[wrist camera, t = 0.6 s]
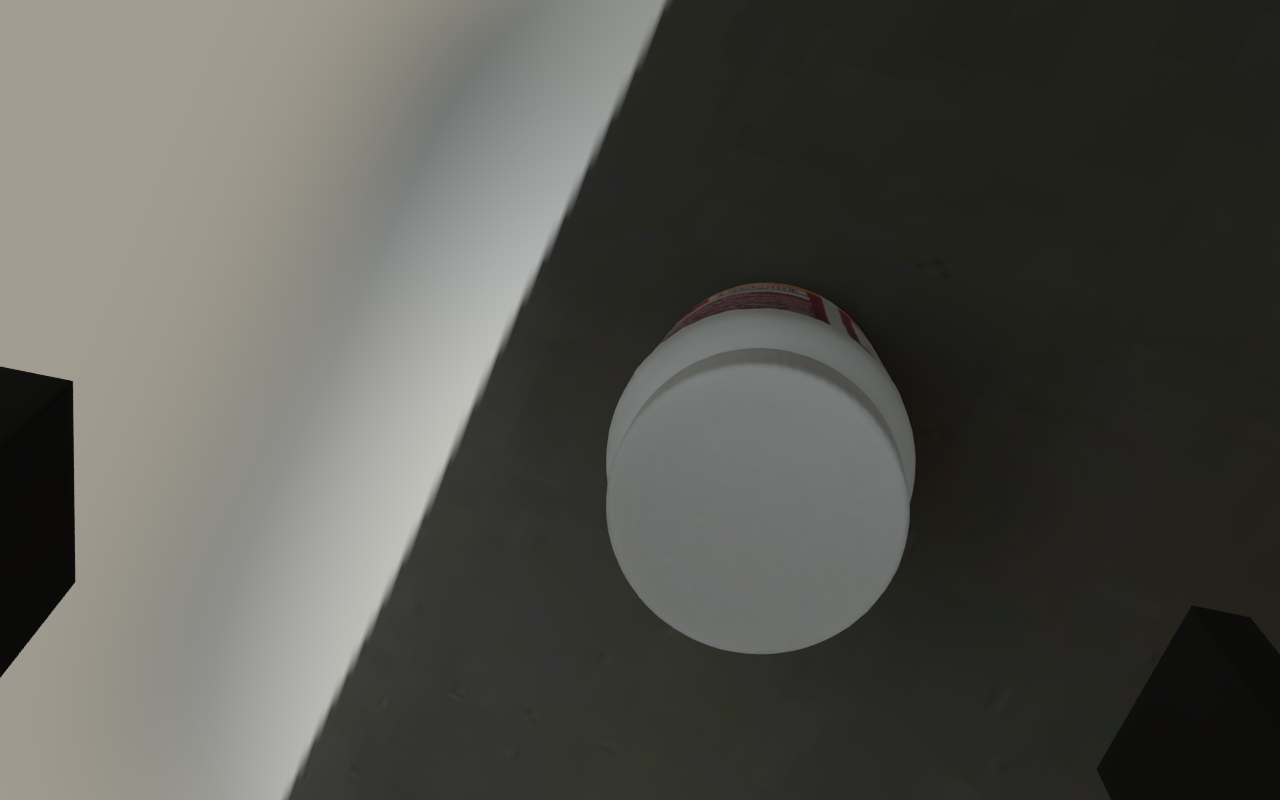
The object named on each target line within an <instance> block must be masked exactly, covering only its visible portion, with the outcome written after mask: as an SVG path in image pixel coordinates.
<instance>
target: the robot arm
mask: <svg viewBox="0 0 1280 800" xmlns="http://www.w3.org/2000/svg"><path fill="white" fill-rule="evenodd" d="M73 434H74V433H73V381H70V380H65V379H60V378H55V377H50V376H45V375H40V374H35V373H30V372H25V371H20V370H15V369H10V368H5V367H0V677H1V676H2V675H3V673H4V672H5V671H6V669H8V667H9V666H10V665H11V663H12V662H13V661H14V660H15V658H16V657H17V656H18V654H19V653H20V652H21V651H22V649H23V648H24V647H25V646H26V644H27V643H28V642H29V640H30V639H31V638H32V636H33V635H34V634H35V633H36V631H37V630H38V629H39V628H40V626H41V625H42V623H44V621H45V620H46V619H47V617H48V616H49V615H50V614H51V612H52V611H53V610H54V608H55V607H56V606H57V605H58V603H59V602H60V601H61V600H62V598H63V597H64V596H65V594H66V593H67V592H68V591H69V589H70V588H71V587H72V585H73V584H74V583H75V519H74V518H75V516H74V437H73ZM1097 771H1098V773H1099V775H1100V777H1101V779H1102V781H1103V783H1104V785H1105V787H1106V789H1107V791H1108V794H1109V796H1110V798H1111V800H1280V655H1279V653H1278V652H1277V651H1276V650H1275V648H1274V647H1273V646H1272V644H1271V643H1270V642H1269V641H1268V639H1267V638H1266V637H1265V635H1264V634H1263V633H1262V632H1261V630H1260V629H1259V628H1258V627H1257V625H1256V624H1255V623H1254V621H1253V620H1252V619H1251V618H1250V617H1246V616H1241V615H1236V614H1231V613H1226V612H1221V611H1216V610H1211V609H1206V608H1201V607H1196V606H1191V608H1190V609H1189V611H1188V613H1187V615H1186V616H1185V618H1184V620H1183V621H1182V623H1181V625H1180V627H1179V628H1178V630H1177V632H1176V633H1175V635H1174V637H1173V639H1172V640H1171V642H1170V644H1169V645H1168V647H1167V649H1166V651H1165V652H1164V654H1163V656H1162V657H1161V659H1160V661H1159V663H1158V664H1157V666H1156V668H1155V669H1154V671H1153V673H1152V675H1151V676H1150V678H1149V680H1148V681H1147V683H1146V685H1145V687H1144V688H1143V690H1142V692H1141V694H1140V695H1139V697H1138V699H1137V700H1136V702H1135V704H1134V706H1133V707H1132V709H1131V711H1130V712H1129V714H1128V716H1127V718H1126V719H1125V721H1124V723H1123V724H1122V726H1121V728H1120V730H1119V731H1118V733H1117V735H1116V736H1115V738H1114V740H1113V742H1112V743H1111V745H1110V747H1109V748H1108V750H1107V752H1106V754H1105V755H1104V757H1103V759H1102V760H1101V762H1100V764H1099V766H1098V767H1097Z"/></svg>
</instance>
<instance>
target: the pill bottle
mask: <svg viewBox="0 0 1280 800" xmlns="http://www.w3.org/2000/svg"><path fill="white" fill-rule="evenodd" d="M915 462H916V458H915V446H914V439H913V431H912V428H911V425H910V422H909V418H908V415H907V413H906V410H905V407H904V404H903V401H902V399H901V396H900V394H899V391H898V389H897V387H896V386H895V384H894V383H893V381H892V380H891V378H890V376H889V374H888V372H887V371H886V369H885V367H884V366H883V364H882V362H881V361H880V359H879V357H878V355H877V354H876V352H875V350H874V348H873V346H872V345H871V343H870V342H869V340H868V339H867V337H866V335H865V334H864V333H863V332H862V330H861V329H860V327H859V326H858V325H857V324H856V323H855V322H854V321H853V320H852V319H851V318H850V317H849V316H848V315H847V314H846V313H845V312H844V311H842V310H841V309H840V308H838V307H837V306H836V305H834V304H833V303H832V302H830V301H828V300H827V299H825V298H823V297H822V296H820V295H818V294H815V293H813V292H811V291H808V290H805V289H803V288H799V287H795V286H792V285H786V284H778V283H754V284H747V285H742V286H737V287H734V288H731V289H728V290H725V291H722V292H720V293H717V294H715V295H713V296H711V297H710V298H708V299H706V300H704V301H703V302H702V303H700V304H699V305H697V306H696V307H694V308H693V309H692V310H691V311H689V312H688V313H687V314H686V315H685V316H684V317H683V318H682V319H681V320H680V321H679V322H678V323H677V324H676V325H675V326H674V327H673V329H672V330H671V331H670V332H669V333H668V334H667V335H666V337H665V338H664V339H663V340H662V341H661V342H660V344H659V345H658V346H657V347H656V348H655V349H654V351H653V352H651V354H650V355H649V356H648V357H647V358H646V359H645V360H644V361H643V362H642V363H641V365H640V366H639V367H638V368H637V369H636V371H635V372H634V374H633V375H632V377H631V379H630V381H629V383H628V385H627V386H626V388H625V389H624V391H623V394H622V396H621V398H620V400H619V402H618V405H617V407H616V409H615V412H614V415H613V418H612V422H611V426H610V430H609V436H608V443H607V453H606V470H607V481H608V486H607V499H606V514H607V524H608V531H609V536H610V540H611V545H612V548H613V550H614V553H615V556H616V558H617V561H618V563H619V566H620V568H621V570H622V571H623V573H624V575H625V577H626V579H627V580H628V582H629V583H630V585H631V587H632V588H633V589H634V591H635V592H636V593H637V595H638V596H639V597H640V598H641V600H642V601H643V602H644V603H645V604H646V606H647V607H649V608H650V609H651V610H652V611H653V612H654V613H655V614H656V615H657V616H658V617H660V618H661V619H662V620H663V621H665V622H666V623H667V624H669V625H670V626H672V627H673V628H675V629H676V630H678V631H679V632H681V633H683V634H685V635H686V636H688V637H690V638H692V639H694V640H696V641H699V642H701V643H704V644H707V645H709V646H712V647H715V648H718V649H722V650H727V651H732V652H740V653H748V654H774V653H781V652H788V651H795V650H798V649H802V648H806V647H809V646H812V645H814V644H817V643H820V642H822V641H824V640H826V639H828V638H830V637H833V636H834V635H836V634H838V633H839V632H841V631H843V630H844V629H846V628H848V627H849V626H850V625H852V624H853V623H854V622H855V621H857V620H858V619H859V618H860V617H861V616H863V615H864V614H865V613H866V612H867V611H868V610H869V609H870V608H871V607H872V606H873V604H874V603H875V602H876V601H877V600H878V598H879V597H880V596H881V595H882V593H883V592H884V591H885V589H886V588H887V586H888V585H889V583H890V582H891V580H892V578H893V576H894V574H895V573H896V571H897V569H898V566H899V564H900V561H901V558H902V555H903V552H904V548H905V544H906V540H907V535H908V529H909V522H910V506H909V505H910V501H911V496H912V492H913V486H914V479H915Z"/></svg>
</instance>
